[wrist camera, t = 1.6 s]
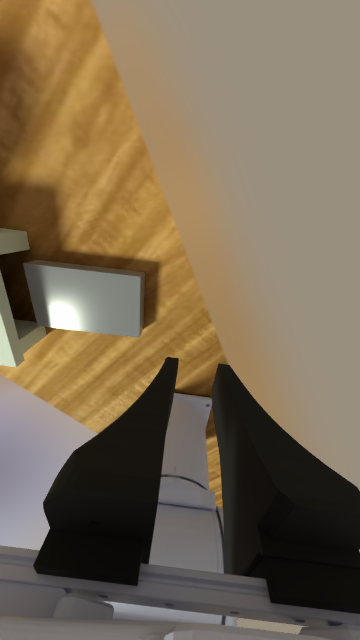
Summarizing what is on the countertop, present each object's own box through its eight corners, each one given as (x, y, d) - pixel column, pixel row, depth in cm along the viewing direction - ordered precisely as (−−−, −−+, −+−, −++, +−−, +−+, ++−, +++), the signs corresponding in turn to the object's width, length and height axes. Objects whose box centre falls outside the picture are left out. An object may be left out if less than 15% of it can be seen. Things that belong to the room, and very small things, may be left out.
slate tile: (144, 327, 22) (139, 337, 20) (51, 316, 22) (37, 325, 20) (145, 271, 19) (140, 276, 17) (40, 258, 19) (22, 263, 17)
